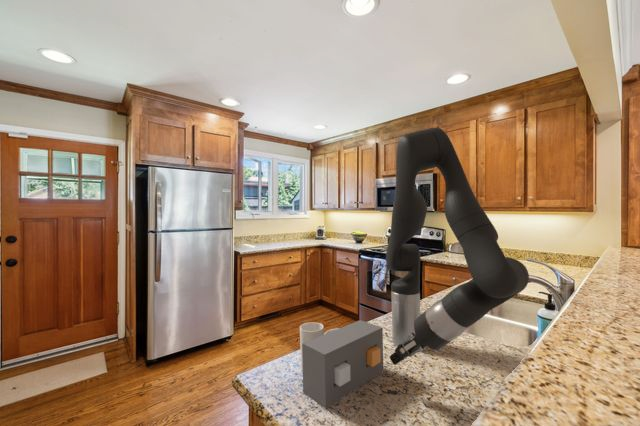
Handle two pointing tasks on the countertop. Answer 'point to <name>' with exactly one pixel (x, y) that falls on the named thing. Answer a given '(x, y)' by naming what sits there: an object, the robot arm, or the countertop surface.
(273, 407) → the countertop surface
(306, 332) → the mug
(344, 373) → the white cube
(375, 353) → the orange button
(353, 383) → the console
